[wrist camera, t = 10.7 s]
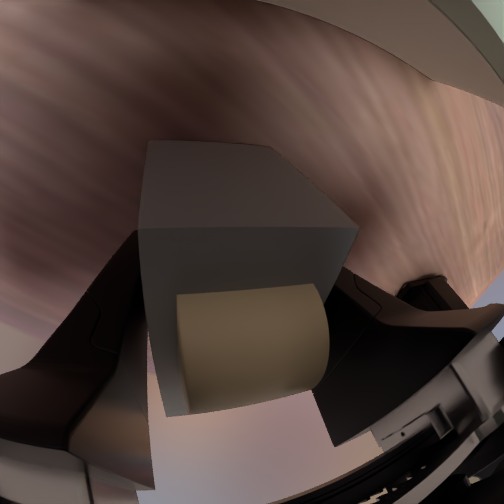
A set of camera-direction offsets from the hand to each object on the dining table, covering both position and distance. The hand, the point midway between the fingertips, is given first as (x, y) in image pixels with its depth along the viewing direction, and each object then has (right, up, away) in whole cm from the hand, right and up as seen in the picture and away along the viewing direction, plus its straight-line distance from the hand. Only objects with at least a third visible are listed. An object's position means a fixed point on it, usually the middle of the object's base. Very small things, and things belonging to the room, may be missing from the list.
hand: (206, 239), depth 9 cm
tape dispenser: (-1, 0, +1) cm, 1 cm away
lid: (+5, +9, -10) cm, 15 cm away
